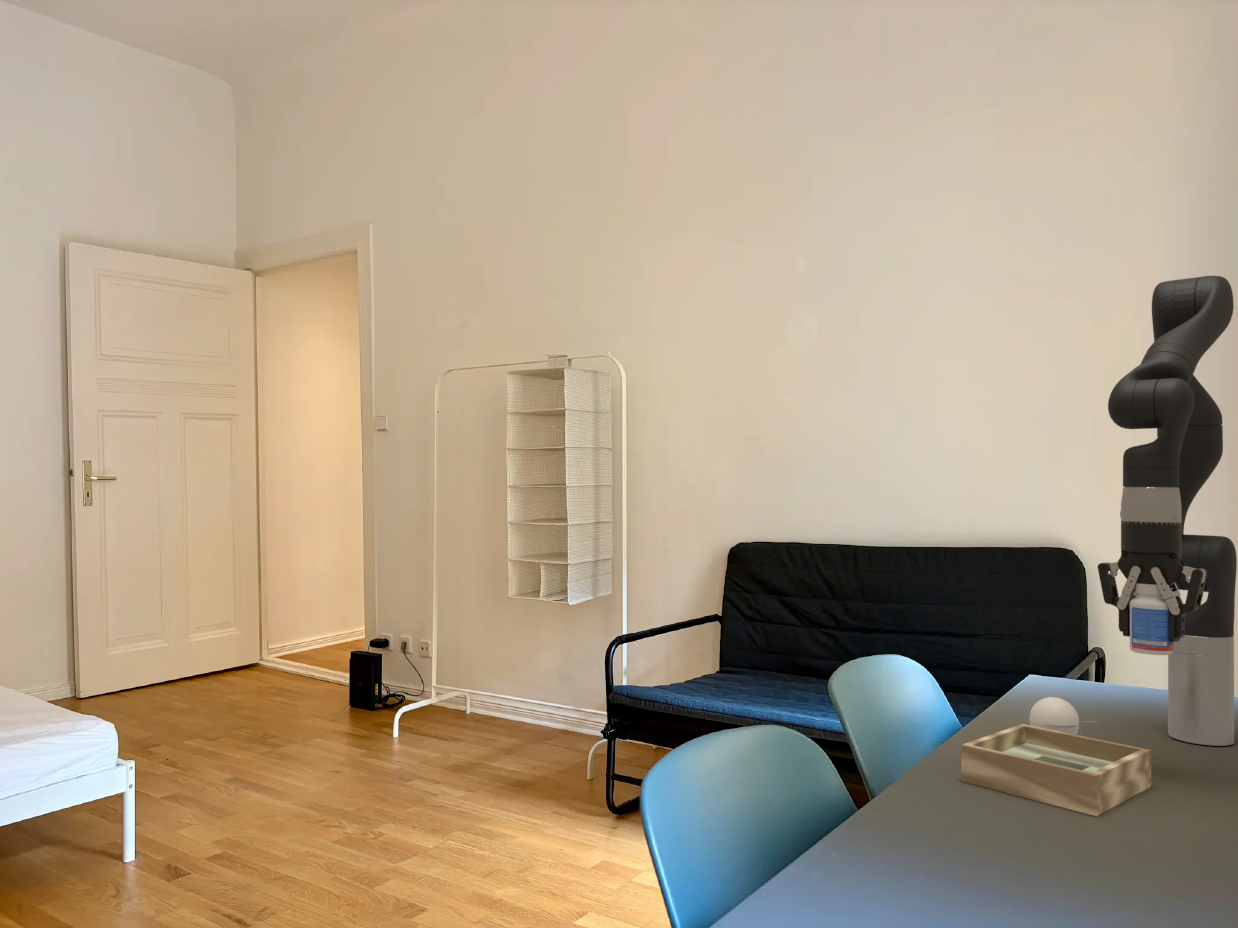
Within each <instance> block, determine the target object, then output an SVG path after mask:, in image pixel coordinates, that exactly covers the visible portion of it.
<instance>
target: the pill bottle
mask: <svg viewBox="0 0 1238 928" xmlns="http://www.w3.org/2000/svg"><path fill="white" fill-rule="evenodd" d="M1135 593H1137V597H1135V598H1133V599H1131V601H1130V637H1129V649H1130V651H1131V652H1134V653H1137V654H1144V655H1153V656H1168V655H1170V654H1172V653H1173V642H1171V641H1170V640H1169V615H1171V614H1172V613H1171V612H1170V609H1169V607H1168V605H1167V603H1166V601H1165V600H1164V598H1163V597H1162V595H1161V592H1160V590H1159V588H1158V586H1157V585H1154V584H1140V583H1137V584H1136V587H1135Z"/></svg>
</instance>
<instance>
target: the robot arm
mask: <svg viewBox="0 0 1238 928" xmlns="http://www.w3.org/2000/svg"><path fill="white" fill-rule="evenodd" d="M1153 289H1154V290H1153V292H1152V298H1151V321H1152V332H1153V342H1152V344H1150V346H1149V348H1147V350H1146V352H1145V354H1144V356H1143V359H1142V360H1141V362H1140V364H1139V365H1137V366H1136V367H1134V368H1133V369H1132V370H1130V371H1129V372H1128V373H1127V374H1125V376H1123V377H1122V378H1121V379H1120V380H1119V381H1118V382H1117V383H1116V384H1115V385H1114V386H1113V388H1112V390H1111V392H1110V394H1109V398H1108V400H1107V401H1108V402H1107V410H1108V414H1109V417H1110V418H1111V420H1112V421H1113V423H1114V424H1115V425H1116V426H1118V427H1119V428H1122V429H1127V430H1142V429H1143V430H1144V429H1145V430H1147V429H1149V430H1150V429H1156V437H1157V438H1156V439H1154V440H1153V441H1151V442H1149V443H1148V442H1147V443H1144V444H1138V445H1135V446H1131V447H1129V448H1127V449H1125V451H1123V457H1122V492H1121V493H1122V494H1121V500H1120V501H1121V502H1120V511H1119V517H1120V552H1121V554H1120V557H1119V559H1118V560H1117V561H1116V562H1115V561H1114V562H1100V563H1099V564H1098V565H1097V570H1098V571H1097V572H1098V576H1099V581H1100V586H1101V587H1100V588H1101V591H1102V597H1103V601H1104V603H1105V604H1107V605H1112V606H1114V607H1116V608H1117V610H1118V629H1119V632H1122V636H1123V637H1127V638H1130V601H1131V599H1133V598H1135V597H1137V593H1135V587H1136V584H1137V583H1140V584H1154V585H1157V586H1158V588H1159V590H1160V592H1161V595H1162V597H1163V598H1164V600H1165V601H1166V603H1167V605H1168V607H1169V609H1170V612H1171V613H1172V614H1171V615H1169V640H1170V641H1171V642H1173V653H1172V654H1170V655H1167V658H1168V659H1167V735H1168V736H1169V737H1170V738H1173V739H1176V740H1178V741H1182V742H1186V743H1189V744H1190V743H1191V744H1196V745H1203V746H1205V745H1206V746H1216V747H1219V746H1220V747H1223V746H1230V745H1231V746H1232V745H1234V744H1235V637H1234V636H1235V631H1234V630H1235V610H1236V609H1235V604H1236V603H1235V601H1236V599H1235V598H1236V584H1237V583H1236V582H1237V581H1236V580H1237V568H1238V567H1237V563H1238V560H1237V559H1238V558H1237V550H1236V546H1235V544H1234V542H1233V541H1232V540H1231V538H1230V537H1227V536H1224V535H1205V534H1203V535H1202V534H1184V533H1185V532H1184V531H1185V523H1186V522H1185V521H1186V517H1187V514H1188V511H1189V509H1190V507H1191V504H1192V502H1193V501H1194V499H1195V497H1196V496H1197V494H1198V493H1199V491H1200V490H1201V489H1202V487H1203V486H1204V485H1205V483H1207V480H1209V478H1210V477H1211V475H1212V474H1213V473H1214V471H1215V470H1216V468H1217V466H1218V465H1219V463H1220V461H1221V459H1222V457H1223V452H1224V438H1223V437H1224V436H1223V435H1224V434H1223V431H1224V428H1223V426H1224V425H1223V415H1222V412H1221V409H1220V408H1219V406H1218V404H1217V403H1216V401H1215V400H1214V399H1213V397H1212V396H1211V394H1209V392H1208V391H1207V390H1206V388H1205V387H1204V386H1203V385H1202V384H1201V382H1200V381H1199V380H1198V379H1197V377H1196V376H1195V375H1194V373H1195V371H1196V369H1197V366H1198V364H1199V362H1200V361H1201V358H1202V357H1203V356H1204V355H1205V354H1206V352H1207V351H1208V350H1209V349H1210V348H1211V347H1212V346H1213V345H1214V344H1215V343H1216V341H1217V340H1218V339H1219V337H1220V336H1222V334H1223V333H1224V332H1225V331H1226V329H1227V328H1228V326H1229V324H1230V323H1231V320H1232V318H1233V313H1234V305H1235V304H1234V295H1233V289H1232V286H1231V284H1230V281H1229V280H1228V279H1227V278H1225V277H1223V276H1222V275H1204V276H1198V277H1190V278H1182V279H1181V278H1180V279H1172V280H1166V281H1162V282H1159V283H1157V285H1156V286H1155V288H1153ZM1119 570H1120V572H1121V574H1122V575H1123V577H1125V579H1126V581H1125V584H1124V585H1123V588H1122V590H1121V595H1120V594H1119V591H1118V586H1117V585H1118V584H1117V581H1116V577H1117V576H1118V574H1119ZM1180 590H1181V591H1187V594H1186V599H1185V603H1184V602H1183V600H1182V597H1181V592H1180ZM1204 592H1205V593H1207V597H1206V601H1204V602H1202V600H1203V597H1204ZM1119 595H1120V596H1119Z"/></svg>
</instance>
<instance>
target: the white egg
mask: <svg viewBox="0 0 1238 928" xmlns="http://www.w3.org/2000/svg"><path fill="white" fill-rule="evenodd" d="M1081 722H1082V723H1098V721H1095V720H1094V721H1093V720H1092V721H1091V720H1089V721H1088V720H1087V721H1086V720H1085V721H1084V720H1082V721H1081ZM1081 722H1080V717H1079V714H1078V712H1077V710H1076V708H1075V707H1074V706H1073V705H1072V704H1071V703H1070V702H1068V701H1066V700H1064V699H1062V698H1060V697H1056V696H1055V697H1053V696H1048V697H1044V698H1042V699H1039V700H1038V701H1036V702H1035V703H1034V704H1033V706H1032V707H1031V710H1030V713H1029V725H1030V726H1035V727H1040V728H1045V729H1050V730H1055V731H1060V732H1065V733H1070V734H1075V735H1078V732H1079V729H1080V725H1081Z"/></svg>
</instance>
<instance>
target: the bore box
mask: <svg viewBox="0 0 1238 928" xmlns="http://www.w3.org/2000/svg"><path fill="white" fill-rule="evenodd" d="M960 746H961V752H960V754H961V756H960V757H961V759H960V760H961V764H960V765H961V767H960V768H961V769H960V770H961V772H960V773H961V776H960V779H961V780H960V781H961V782H963V783H967V784H972V785H975V786H979V787H983V788H987V789H991V790H993V791H998V792H1002V793H1005V794H1008V795H1009V794H1010V795H1013V796H1018V797H1020V798H1025V799H1030V800H1032V801H1036V802H1041V803H1044V804H1047V805H1051V806H1056V807H1059V808H1063V809H1067V810H1071V811H1074V812H1079V813H1082V814H1086V815H1090V816H1094V817H1099V816H1100V815H1102V814H1104V813H1106V812H1107V811H1109V810H1111V809H1113V808H1115V807H1117V806H1119V805H1120V804H1122V803H1124V802H1126V801H1128V800H1129V799H1132V798H1134V797H1135V796H1136V795H1138V794H1141V793H1143V792H1144V791H1147V790H1148V789H1150V788H1152V749H1148V748H1143V747H1139V746H1138V747H1137V746H1133V745H1127V744H1123V743H1119V742H1115V741H1109V740H1103V739H1098V738H1093V737H1089V736H1084V735H1078V734H1076V735H1075V734H1070V733H1065V732H1060V731H1055V730H1050V729H1045V728H1040V727H1035V726H1030V724H1025V723H1021V724H1017V725H1014V726H1012V727H1009V728H1006V729H1003V730H1001V731H998V732H995V733H991V734H989V735H985V736H983V737H981V738H978V739H975V740H971V741H968V742H966V743H963V744H961V745H960Z"/></svg>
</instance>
